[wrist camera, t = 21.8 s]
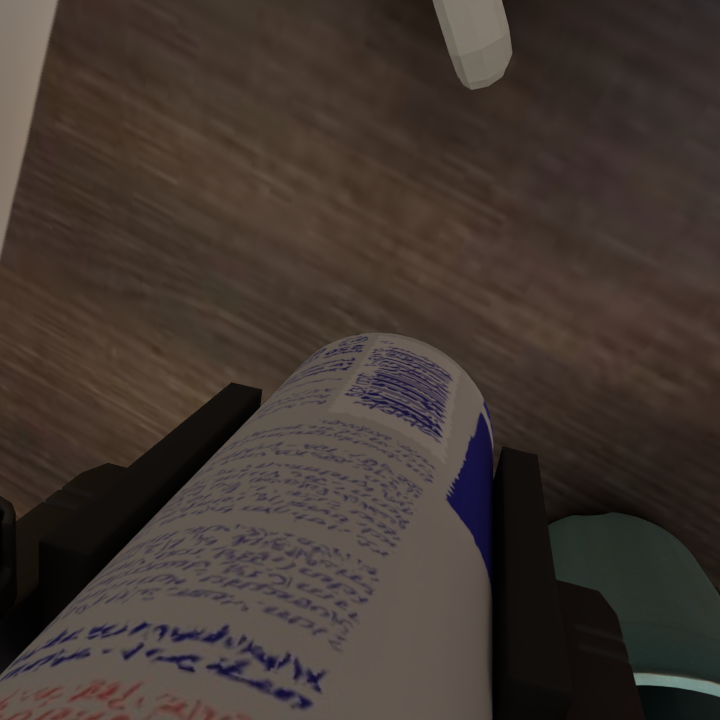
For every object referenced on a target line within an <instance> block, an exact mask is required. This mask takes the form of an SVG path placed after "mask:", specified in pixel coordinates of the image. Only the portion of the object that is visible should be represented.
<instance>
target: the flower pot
mask: <svg viewBox="0 0 720 720" xmlns="http://www.w3.org/2000/svg"><path fill="white" fill-rule="evenodd" d="M548 529H549V536H550V543H551V549H552V556H553V563H554V569H555V576H556V580H560V581H564V582H568V583H571V584H575V585H579V586H583V587H587V588H590V589H594V590H598V591H600V593H601V594H602V595H603V597H604V598H605V599H606V601H607V602H608V603H609V605H610V606H611V607H612V609H613V610H614V611H615V613H616V614H617V616H618V620H619V624H620V627H621V631H622V634H623V638H624V639H623V643H625V645H626V649H627V653H628V656H629V664H631V667H632V671H633V674H634V678H635V682H636V685H637V689H638V693H639V696H640V700H641V704H642V707H643V711H644V715H645V718H646V720H720V596H719V594H718V592H717V591H716V589H715V588H714V586H713V585H712V583H711V582H710V580H709V579H708V577H707V576H706V574H705V573H704V571H703V570H702V568H701V567H700V565H699V564H698V563H697V561H696V559H695V558H694V556H693V555H692V554H691V552H690V551H689V550H688V549H687V548H686V547H685V546H684V545H683V544H682V543H681V542H680V541H679V540H678V539H677V538H675V537H674V536H673V535H672V534H670V533H669V532H667V531H666V530H664V529H663V528H661V527H659V526H657V525H655V524H653V523H651V522H649V521H646V520H644V519H641V518H638V517H635V516H631V515H627V514H622V513H615V512H610V513H607V514H603V515H589V516H580V515H572V516H569V517H566V518H563V519H560V520H558V521H556V522H553V523H551V524H550V525H548Z"/></svg>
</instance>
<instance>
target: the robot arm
mask: <svg viewBox="0 0 720 720" xmlns="http://www.w3.org/2000/svg"><path fill="white" fill-rule="evenodd" d="M261 395H262V389H257V388H253V387H249V386H245V385H240V384H236V383H232V382H231V383H230V384H229V385H228V386H227V387H225V388H224V389H223V390H222V391H221V392H219V393H218V394H217V395H216V396H214V397H213V398H212V399H211V400H210V401H208V402H207V403H206V404H205V405H203V406H202V407H201V408H200V409H199V410H197V411H196V412H195V413H194V414H192V415H191V416H190V417H189V418H188V419H186V420H185V421H184V422H183V423H181V424H180V425H179V426H178V427H177V428H175V429H174V430H173V431H172V432H171V433H169V434H168V435H167V436H166V437H164V438H163V439H162V440H161V441H160V442H158V443H157V444H156V445H155V446H153V447H152V448H151V449H150V450H149V451H147V452H146V453H145V454H144V455H142V456H141V457H140V458H139V459H138V460H136V461H135V462H134V463H133V464H131V465H130V466H129V467H128V468H126V467H122V466H118V465H114V464H110V463H107V464H104V465H101V466H99V467H96V468H93V469H91V470H88V471H85V472H82V473H81V474H79V475H78V476H77V477H75V478H74V479H73V480H71V481H70V482H69V483H67V484H66V485H65V486H63V487H62V490H58V491H57V492H55V493H54V494H53V495H51V496H50V497H48V498H47V499H46V502H45V503H44V502H42V503H40V504H39V505H38V506H36V507H35V508H34V509H32V510H31V511H30V512H28V513H27V514H26V515H24V516H23V517H21V518H20V519H19V520H17V521H16V513H15V510H14V508H13V505H12V503H10V502H9V501H7V500H6V499H4V498H2V497H1V496H0V675H1V674H2V673H3V672H4V671H5V670H6V669H7V668H8V667H9V666H10V664H11V663H12V662H13V661H14V660H15V659H16V658H17V657H18V656H19V655H20V654H21V653H22V652H23V651H24V650H25V649H26V648H27V647H28V646H29V645H30V644H31V643H32V642H33V641H34V640H35V639H36V638H37V637H38V636H39V635H40V634H41V633H42V632H43V631H44V629H45V628H46V627H47V626H48V625H49V624H50V623H51V622H52V621H53V620H54V619H55V618H56V617H57V616H58V615H59V614H60V613H61V612H62V611H63V610H64V609H65V608H66V607H67V606H68V605H69V604H70V603H71V602H72V601H73V600H74V599H75V598H76V597H77V595H78V594H79V593H80V592H81V591H82V590H83V589H84V588H85V587H86V586H87V585H88V584H89V583H90V582H91V581H92V580H93V579H94V578H95V577H96V576H97V575H98V574H99V573H100V572H101V571H102V570H103V569H104V568H105V567H106V566H107V565H108V564H109V563H110V562H111V560H112V559H113V558H114V557H115V556H116V555H117V554H118V553H119V552H120V551H121V550H122V549H123V548H124V547H125V546H126V545H127V544H128V543H129V542H130V541H131V540H132V539H133V538H134V537H135V536H136V535H137V534H138V533H139V532H140V531H141V530H142V529H143V528H144V526H145V525H146V524H147V523H148V522H149V521H150V520H151V519H152V518H153V517H154V516H155V515H156V514H157V513H158V512H159V511H160V510H161V509H162V508H163V507H164V506H165V505H166V504H167V503H168V502H169V501H170V500H171V499H172V498H173V497H174V496H175V495H176V494H177V492H178V491H179V490H180V489H181V488H182V487H183V486H184V485H185V484H186V483H187V482H188V481H189V480H190V479H191V478H192V477H193V476H194V475H195V474H196V473H197V472H198V471H199V470H200V469H201V468H202V467H203V466H204V465H205V464H206V463H207V462H208V461H209V460H210V459H211V457H212V456H213V455H214V454H215V453H216V452H217V451H218V450H219V449H220V448H221V447H222V446H223V445H224V444H225V443H226V442H227V441H228V440H229V439H230V438H231V437H232V436H233V435H234V434H235V433H236V432H237V431H238V430H239V429H240V428H241V427H242V426H243V425H244V423H245V422H246V421H247V420H248V419H249V418H250V417H251V416H252V415H253V414H254V413H255V412H256V411H257V410H258V409H259V408H260V403H261ZM623 639H624V638H623V634H622V631H621V627H620V624H619V620H618V616H617V614H616V613H615V611H614V610H613V609H612V607H611V606H610V605H609V603H608V602H607V601H606V599H605V598H604V597H603V595H602V594H601V593H600V591H598V590H594V589H590V588H587V587H583V586H579V585H575V584H571V583H568V582H564V581H560V580H556V576H555V569H554V563H553V556H552V549H551V543H550V536H549V529H548V523H547V516H546V510H545V503H544V496H543V490H542V483H541V476H540V470H539V463H538V456H537V455H535V454H531V453H527V452H523V451H519V450H514V449H510V448H506V447H502V451H501V454H500V458H499V462H498V466H497V469H496V473H495V477H494V481H493V704H492V720H646V718H645V715H644V711H643V707H642V704H641V700H640V696H639V693H638V689H637V685H636V682H635V678H634V674H633V671H632V667H631V664H629V656H628V653H627V649H626V645H625V643H623Z"/></svg>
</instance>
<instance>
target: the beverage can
mask: <svg viewBox="0 0 720 720" xmlns="http://www.w3.org/2000/svg"><path fill="white" fill-rule="evenodd" d="M492 704H493V430H492V423H491V419H490V415H489V411H488V409H487V406H486V403H485V401H484V399H483V397H482V395H481V393H480V391H479V390H478V388H477V386H476V385H475V383H474V382H473V381H472V379H471V378H470V377H469V376H468V374H467V373H466V372H465V371H464V370H463V369H462V368H461V367H460V366H459V365H458V364H457V363H456V362H455V361H453V360H452V359H451V358H450V357H448V356H447V355H446V354H444V353H443V352H441V351H440V350H438V349H436V348H434V347H432V346H430V345H429V344H426V343H424V342H421V341H419V340H416V339H413V338H410V337H406V336H402V335H397V334H389V333H365V334H358V335H353V336H349V337H346V338H343V339H340V340H337V341H334V342H332V343H330V344H328V345H326V346H324V347H323V348H321V349H319V350H318V351H316V352H315V353H314V354H312V355H311V356H310V357H309V358H308V359H306V360H305V361H304V363H303V364H302V365H301V366H300V367H299V368H298V369H297V370H296V371H295V372H294V373H293V374H292V375H291V376H290V377H289V378H288V379H287V380H286V381H285V382H284V383H283V384H282V385H281V386H280V387H279V388H278V390H277V391H276V392H275V393H274V394H273V395H272V396H271V397H270V398H269V399H268V400H267V401H266V402H265V403H264V404H263V405H262V406H261V407H260V408H259V409H258V410H257V411H256V412H255V413H254V414H253V415H252V416H251V417H250V418H249V419H248V420H247V421H246V422H245V423H244V425H243V426H242V427H241V428H240V429H239V430H238V431H237V432H236V433H235V434H234V435H233V436H232V437H231V438H230V439H229V440H228V441H227V442H226V443H225V444H224V445H223V446H222V447H221V448H220V449H219V450H218V451H217V452H216V453H215V454H214V455H213V456H212V457H211V459H210V460H209V461H208V462H207V463H206V464H205V465H204V466H203V467H202V468H201V469H200V470H199V471H198V472H197V473H196V474H195V475H194V476H193V477H192V478H191V479H190V480H189V481H188V482H187V483H186V484H185V485H184V486H183V487H182V488H181V489H180V490H179V491H178V492H177V494H176V495H175V496H174V497H173V498H172V499H171V500H170V501H169V502H168V503H167V504H166V505H165V506H164V507H163V508H162V509H161V510H160V511H159V512H158V513H157V514H156V515H155V516H154V517H153V518H152V519H151V520H150V521H149V522H148V523H147V524H146V525H145V526H144V528H143V529H142V530H141V531H140V532H139V533H138V534H137V535H136V536H135V537H134V538H133V539H132V540H131V541H130V542H129V543H128V544H127V545H126V546H125V547H124V548H123V549H122V550H121V551H120V552H119V553H118V554H117V555H116V556H115V557H114V558H113V559H112V560H111V562H110V563H109V564H108V565H107V566H106V567H105V568H104V569H103V570H102V571H101V572H100V573H99V574H98V575H97V576H96V577H95V578H94V579H93V580H92V581H91V582H90V583H89V584H88V585H87V586H86V587H85V588H84V589H83V590H82V591H81V592H80V593H79V594H78V595H77V597H76V598H75V599H74V600H73V601H72V602H71V603H70V604H69V605H68V606H67V607H66V608H65V609H64V610H63V611H62V612H61V613H60V614H59V615H58V616H57V617H56V618H55V619H54V620H53V621H52V622H51V623H50V624H49V625H48V626H47V627H46V628H45V629H44V631H43V632H42V633H41V634H40V635H39V636H38V637H37V638H36V639H35V640H34V641H33V642H32V643H31V644H30V645H29V646H28V647H27V648H26V649H25V650H24V651H23V652H22V653H21V654H20V655H19V656H18V657H17V658H16V659H15V660H14V661H13V662H12V663H11V664H10V666H9V667H8V668H7V669H6V670H5V671H4V672H3V673H2V674H1V675H0V720H492Z"/></svg>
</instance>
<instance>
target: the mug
mask: <svg viewBox="0 0 720 720" xmlns="http://www.w3.org/2000/svg"><path fill="white" fill-rule="evenodd" d="M433 4H434V7H435V10H436V13H437V17H438V20H439V23H440V26H441V29H442V32H443V35H444V39H445V42H446V45H447V48H448V51H449V54H450V57H451V60H452V63H453V65H454V68H455V71H456V74H457V77H459V78H460V80H461V82H462V84H463V85H464V86H466V87H468V88H469V89H471V90H473V89H478V88H483V87H488V86H489V85H491V84H492V83H494V82H495V81H497V80H498V79H500V78H501V77H503V75H504V72H505V69H506V67H507V66H508V63H509V61H510V58H511V56H512V47H511V39H510V32H509V26H508V22H507V18H506V14H505V11H504V7H503V3H502V0H433Z"/></svg>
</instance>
